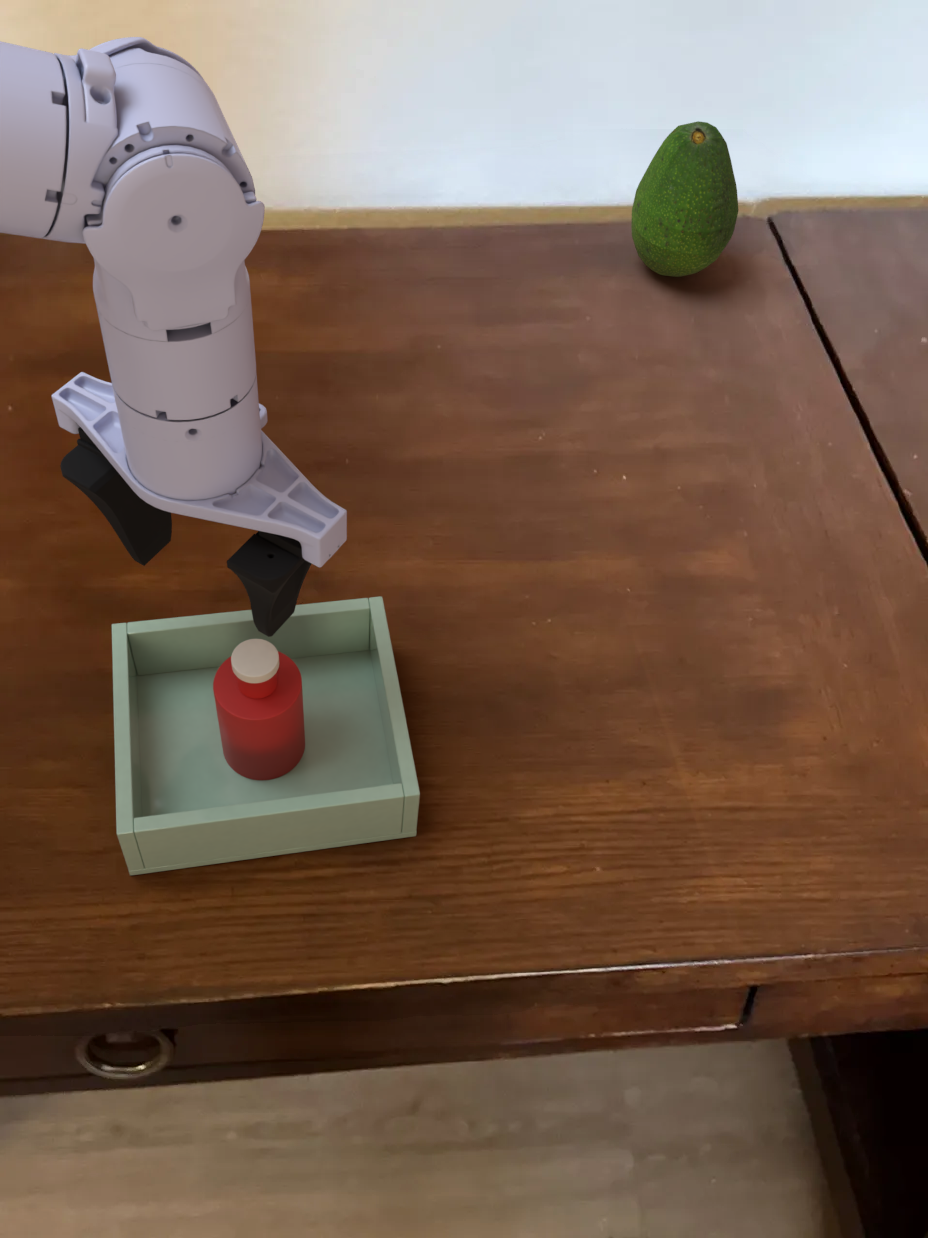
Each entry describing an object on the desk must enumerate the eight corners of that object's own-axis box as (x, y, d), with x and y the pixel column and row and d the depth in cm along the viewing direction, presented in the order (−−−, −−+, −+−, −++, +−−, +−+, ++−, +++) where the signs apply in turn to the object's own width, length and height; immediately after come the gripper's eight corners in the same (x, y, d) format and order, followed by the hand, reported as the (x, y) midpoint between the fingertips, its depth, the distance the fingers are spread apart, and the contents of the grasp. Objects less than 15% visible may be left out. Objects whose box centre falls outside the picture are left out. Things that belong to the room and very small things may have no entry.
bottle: (225, 786, 64) (211, 700, 57) (219, 716, 66) (206, 626, 60) (309, 775, 65) (305, 689, 58) (300, 706, 67) (295, 616, 61)
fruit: (599, 255, 95) (627, 112, 85) (677, 227, 98) (712, 86, 88) (662, 312, 91) (699, 169, 82) (741, 282, 94) (785, 140, 85)
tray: (129, 876, 61) (116, 834, 57) (123, 671, 68) (111, 623, 65) (416, 836, 63) (420, 794, 60) (380, 643, 71) (382, 595, 67)
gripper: (390, 390, 49) (382, 599, 60) (112, 255, 53) (151, 473, 63) (285, 495, 45) (296, 698, 56) (-8, 340, 49) (56, 558, 60)
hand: (213, 585), depth 59 cm, fingers open, 7 cm apart
